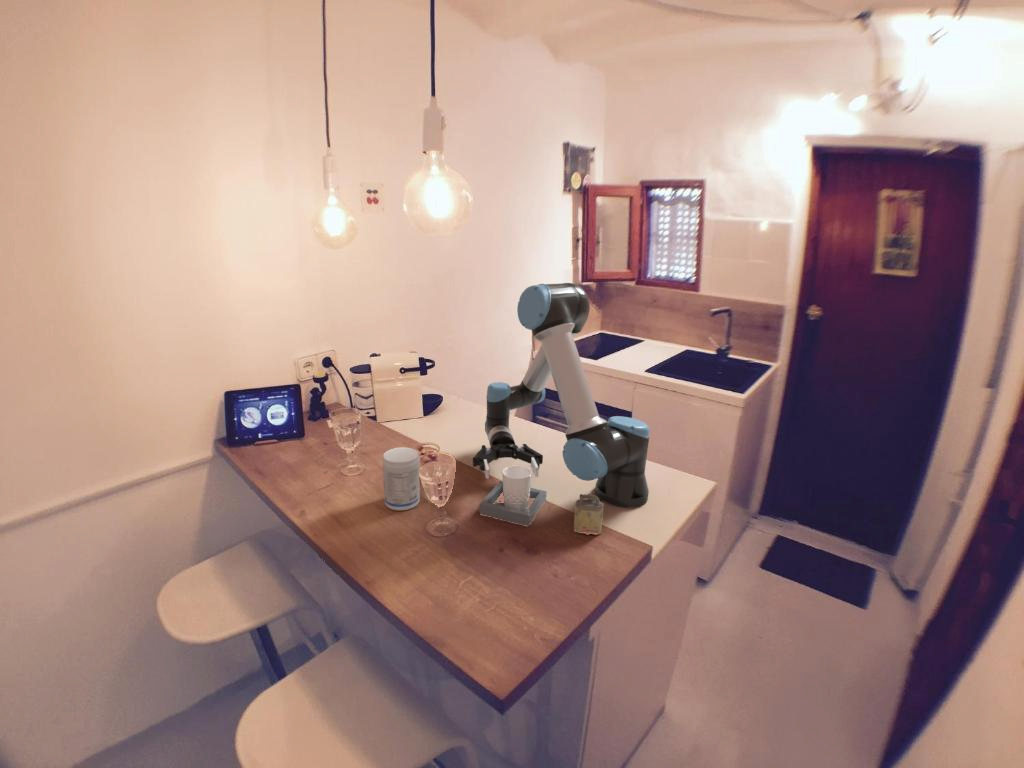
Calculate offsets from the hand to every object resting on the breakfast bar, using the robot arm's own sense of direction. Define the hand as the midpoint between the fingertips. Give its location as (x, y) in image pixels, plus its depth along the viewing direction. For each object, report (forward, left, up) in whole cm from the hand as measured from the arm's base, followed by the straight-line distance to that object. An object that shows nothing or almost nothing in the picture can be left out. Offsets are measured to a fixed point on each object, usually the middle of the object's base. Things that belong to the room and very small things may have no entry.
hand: (512, 473), depth 134 cm
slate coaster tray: (-1, +1, -10) cm, 10 cm away
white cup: (-2, +1, -9) cm, 9 cm away
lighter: (-22, +4, -10) cm, 25 cm away
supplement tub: (+28, +11, -10) cm, 32 cm away
